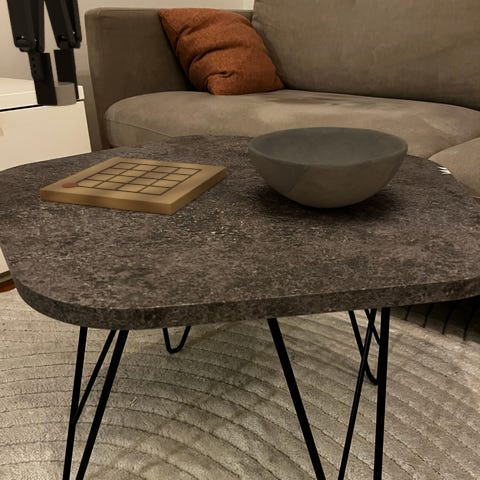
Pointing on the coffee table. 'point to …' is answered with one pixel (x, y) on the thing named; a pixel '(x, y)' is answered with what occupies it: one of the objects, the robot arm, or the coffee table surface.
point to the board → (136, 185)
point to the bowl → (327, 163)
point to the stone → (65, 94)
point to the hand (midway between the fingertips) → (58, 101)
